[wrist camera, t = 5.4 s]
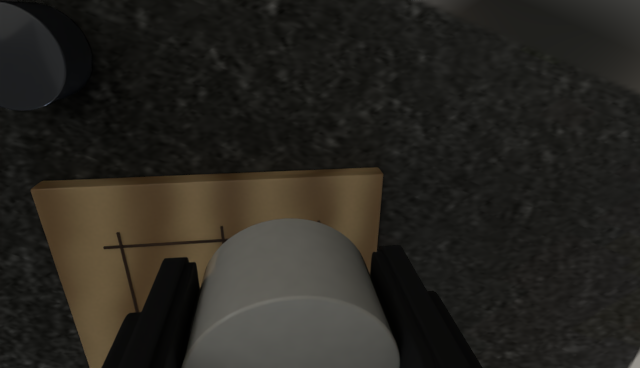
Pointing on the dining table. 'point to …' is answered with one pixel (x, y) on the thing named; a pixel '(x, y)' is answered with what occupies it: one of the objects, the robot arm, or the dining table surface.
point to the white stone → (289, 303)
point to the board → (180, 230)
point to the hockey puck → (40, 56)
